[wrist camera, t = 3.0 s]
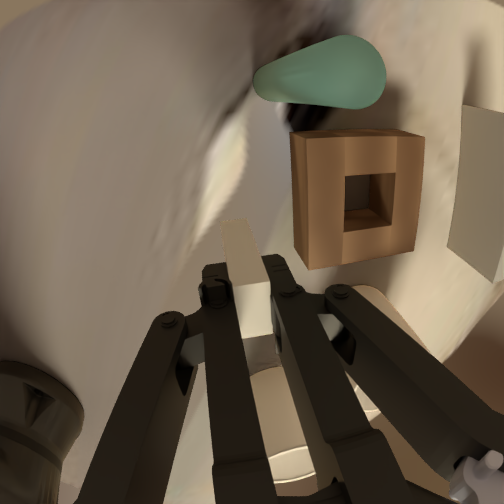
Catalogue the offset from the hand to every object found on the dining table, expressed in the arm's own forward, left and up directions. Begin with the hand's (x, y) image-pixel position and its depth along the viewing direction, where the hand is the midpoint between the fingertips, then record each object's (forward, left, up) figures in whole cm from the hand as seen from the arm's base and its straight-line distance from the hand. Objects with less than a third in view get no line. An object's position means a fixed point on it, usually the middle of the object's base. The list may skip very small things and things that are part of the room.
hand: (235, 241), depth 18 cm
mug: (+3, -26, -8) cm, 27 cm away
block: (+11, 0, -8) cm, 13 cm away
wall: (+25, 0, -8) cm, 26 cm away
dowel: (+5, +9, -8) cm, 13 cm away
